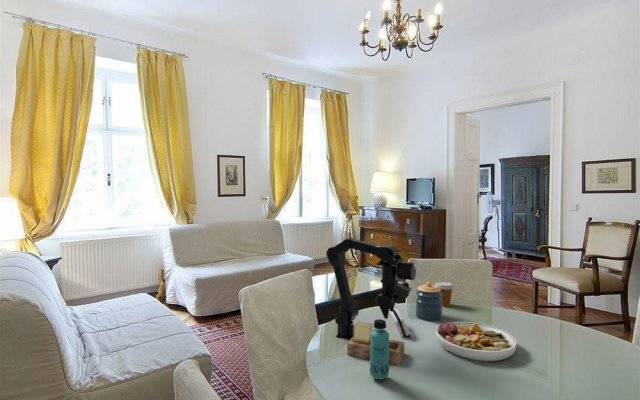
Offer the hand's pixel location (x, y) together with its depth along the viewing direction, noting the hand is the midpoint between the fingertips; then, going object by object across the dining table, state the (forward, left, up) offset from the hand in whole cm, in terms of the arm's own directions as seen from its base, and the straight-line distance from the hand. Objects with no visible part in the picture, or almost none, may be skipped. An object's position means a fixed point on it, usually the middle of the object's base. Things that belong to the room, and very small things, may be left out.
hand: (389, 314), depth 150 cm
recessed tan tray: (-3, -9, -13) cm, 16 cm away
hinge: (0, +19, -13) cm, 23 cm away
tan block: (-8, -9, -11) cm, 16 cm away
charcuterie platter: (+32, +14, -14) cm, 37 cm away
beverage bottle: (+3, -26, -13) cm, 30 cm away
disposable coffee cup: (+15, +64, -13) cm, 67 cm away
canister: (+10, +42, -13) cm, 45 cm away
